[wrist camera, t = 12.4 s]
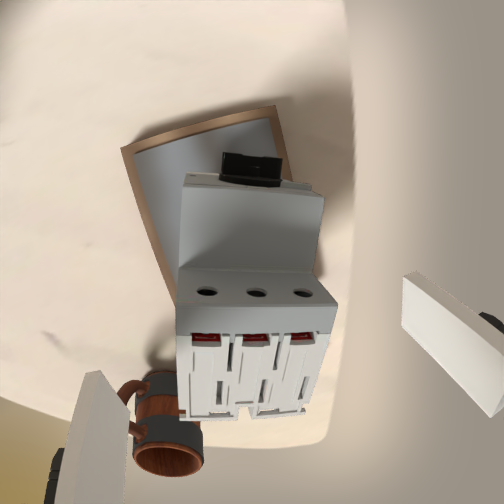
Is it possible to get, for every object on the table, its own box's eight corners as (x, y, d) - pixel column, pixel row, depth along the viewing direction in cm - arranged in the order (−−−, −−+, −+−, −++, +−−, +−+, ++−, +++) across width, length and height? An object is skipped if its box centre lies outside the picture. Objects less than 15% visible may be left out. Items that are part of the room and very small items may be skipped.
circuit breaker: (276, 155, 26) (365, 175, 12) (257, 302, 31) (304, 416, 17) (189, 147, 24) (182, 153, 11) (181, 300, 29) (179, 423, 15)
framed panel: (188, 324, 34) (188, 339, 31) (126, 147, 26) (118, 148, 23) (306, 288, 35) (316, 301, 32) (268, 107, 27) (276, 104, 24)
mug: (145, 340, 33) (133, 415, 23) (214, 391, 38) (224, 462, 27) (104, 374, 34) (87, 444, 23) (171, 418, 39) (172, 485, 28)
